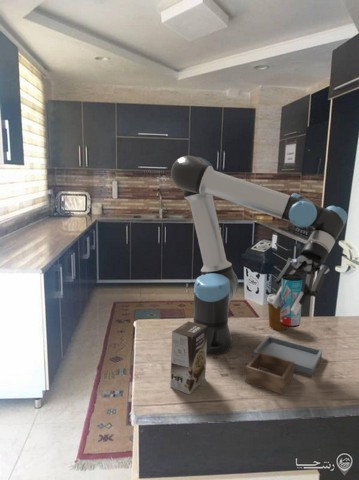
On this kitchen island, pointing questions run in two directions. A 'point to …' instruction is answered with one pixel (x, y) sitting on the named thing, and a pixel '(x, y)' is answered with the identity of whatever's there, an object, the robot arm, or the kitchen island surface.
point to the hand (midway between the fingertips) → (283, 308)
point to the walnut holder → (266, 378)
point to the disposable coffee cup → (274, 314)
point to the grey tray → (292, 354)
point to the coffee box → (188, 356)
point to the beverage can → (290, 300)
